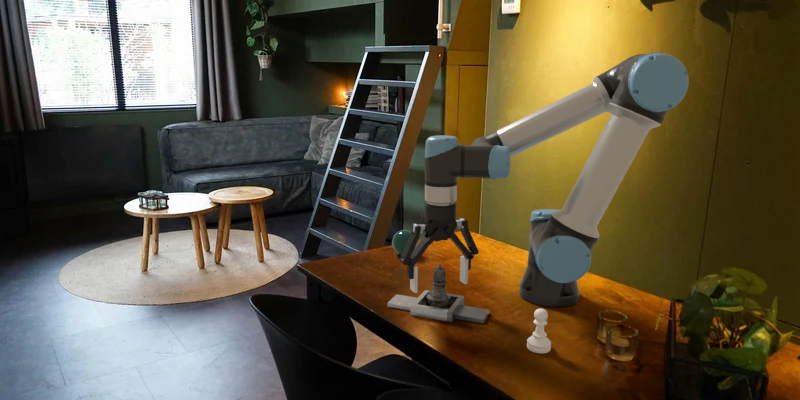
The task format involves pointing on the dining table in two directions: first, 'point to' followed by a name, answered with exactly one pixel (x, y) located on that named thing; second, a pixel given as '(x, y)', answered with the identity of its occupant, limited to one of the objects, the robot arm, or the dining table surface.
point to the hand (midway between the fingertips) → (439, 286)
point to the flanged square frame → (436, 313)
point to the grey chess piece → (439, 290)
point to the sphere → (400, 240)
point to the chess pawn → (539, 334)
